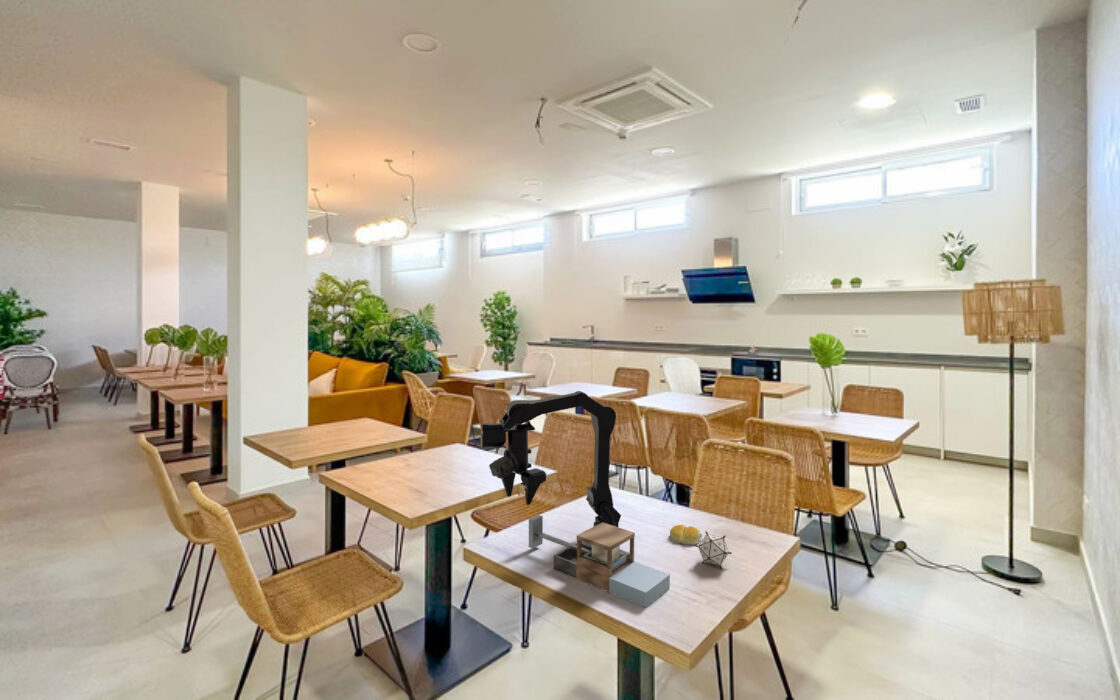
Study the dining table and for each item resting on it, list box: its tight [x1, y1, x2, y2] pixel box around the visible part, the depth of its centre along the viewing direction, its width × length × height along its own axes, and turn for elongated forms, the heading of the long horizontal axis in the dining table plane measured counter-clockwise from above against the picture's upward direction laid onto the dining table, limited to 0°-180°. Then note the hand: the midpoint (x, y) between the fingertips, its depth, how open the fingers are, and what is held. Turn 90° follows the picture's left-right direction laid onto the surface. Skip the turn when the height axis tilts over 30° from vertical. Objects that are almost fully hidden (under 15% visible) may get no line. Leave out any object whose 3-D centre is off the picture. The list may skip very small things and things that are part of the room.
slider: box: [528, 514, 628, 571], centre depth 136 cm, size 29×8×8 cm, turn 50°
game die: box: [694, 530, 733, 569], centre depth 137 cm, size 9×8×10 cm
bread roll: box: [669, 524, 703, 546], centre depth 153 cm, size 8×9×4 cm
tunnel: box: [553, 522, 636, 593], centre depth 132 cm, size 18×11×11 cm, turn 50°
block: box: [591, 545, 621, 563], centre depth 130 cm, size 5×5×5 cm
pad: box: [608, 561, 671, 608], centre depth 123 cm, size 10×11×4 cm
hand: (518, 500), depth 146 cm, fingers open, 9 cm apart
